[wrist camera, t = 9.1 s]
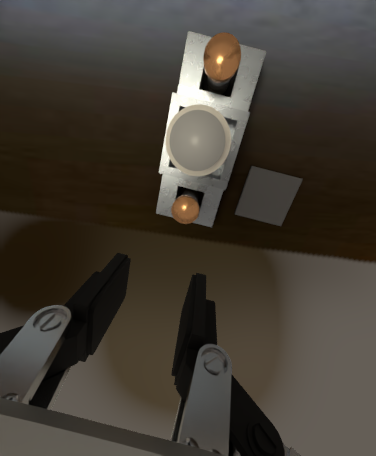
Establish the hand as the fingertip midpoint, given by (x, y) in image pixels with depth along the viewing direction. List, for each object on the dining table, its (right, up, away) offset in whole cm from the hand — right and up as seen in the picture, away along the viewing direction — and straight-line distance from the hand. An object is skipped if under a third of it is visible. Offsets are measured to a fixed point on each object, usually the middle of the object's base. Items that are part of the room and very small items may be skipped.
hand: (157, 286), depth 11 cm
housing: (+4, +16, +18) cm, 25 cm away
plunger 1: (+2, +9, +21) cm, 23 cm away
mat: (+15, +8, +20) cm, 26 cm away
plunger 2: (+6, +23, +15) cm, 28 cm away
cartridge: (+4, +14, +15) cm, 21 cm away
